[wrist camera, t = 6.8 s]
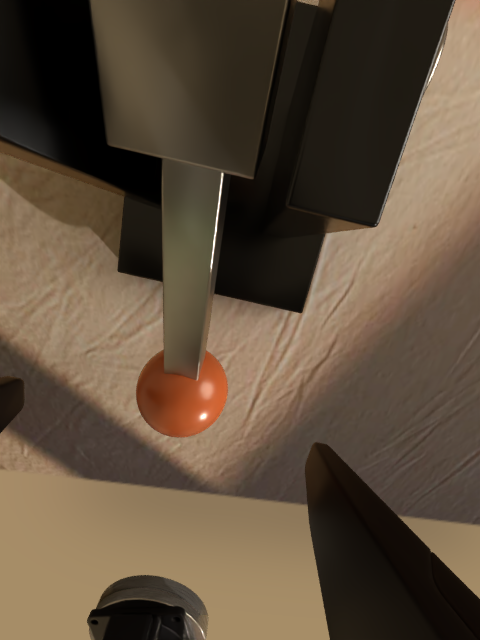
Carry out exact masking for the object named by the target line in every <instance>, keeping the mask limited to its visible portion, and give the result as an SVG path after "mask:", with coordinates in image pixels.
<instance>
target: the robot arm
mask: <svg viewBox="0 0 480 640" xmlns="http://www.w3.org/2000/svg"><path fill="white" fill-rule="evenodd" d="M23 405H24V381H23V380H22V379H21V378H16V377H12V376H4V377H0V433H1V432H2V431H3V430H4V429H5V427H6V426H7V425H8V424H9V423H10V422H11V421H12V420H13V419H14V417H15V416H16V415H17V414H18V413H19V412H20V411H21V409H22V408H23ZM305 477H306V489H307V502H308V514H309V524H310V531H311V537H312V542H313V548H314V554H315V559H316V565H317V570H318V576H319V581H320V587H321V592H322V597H323V603H324V609H325V614H326V620H327V625H328V631H329V636H330V640H480V599H479V598H478V597H477V596H476V595H475V594H474V593H473V592H472V591H471V590H470V589H469V588H468V587H467V586H466V585H465V584H464V583H463V582H462V581H461V580H460V579H459V578H458V577H457V576H456V575H455V574H454V573H453V572H452V571H451V570H450V569H449V568H448V567H447V566H446V565H445V564H444V563H443V562H442V561H441V560H440V559H439V558H438V557H437V556H436V555H435V554H434V553H433V552H431V551H430V549H429V548H428V547H427V546H426V545H425V544H424V543H423V542H422V541H421V540H420V539H419V537H418V536H417V535H416V534H415V533H414V532H413V531H412V530H411V529H409V527H408V526H407V525H406V524H405V523H404V522H403V521H402V520H401V519H400V518H399V517H398V516H397V515H396V514H395V513H394V512H393V511H392V510H391V509H390V508H389V507H388V506H387V505H386V504H385V503H384V502H383V501H382V500H381V499H380V498H379V497H378V496H377V495H376V494H375V493H374V492H373V491H372V489H371V488H370V487H369V486H368V485H367V484H366V483H365V482H364V481H363V480H362V479H361V478H360V477H359V476H358V475H357V474H356V473H355V472H354V471H353V470H352V469H351V468H350V467H349V466H348V465H347V464H346V463H345V462H344V461H343V460H342V459H341V458H340V457H339V456H338V455H337V454H336V453H335V452H334V451H333V450H332V449H331V448H330V447H329V446H328V445H327V444H322V443H318V442H315V443H314V444H313V445H312V447H311V450H310V453H309V456H308V459H307V461H306V465H305ZM87 623H88V625H89V627H90V630H91V632H92V635H93V637H94V639H95V640H193V637H192V633H191V629H190V626H189V622H188V618H187V615H186V611H185V609H184V608H182V607H180V606H167V607H139V608H111V609H94V610H92V611H91V612H90V615H89V617H88V619H87Z"/></svg>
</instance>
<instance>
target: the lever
mask: <svg viewBox="0 0 480 640" xmlns="http://www.w3.org/2000/svg"><path fill="white" fill-rule="evenodd" d="M88 5H89V13H90V21H91V29H92V36H93V44H94V52H95V60H96V68H97V75H98V83H99V91H100V99H101V107H102V114H103V122H104V130H105V138H106V143H107V144H108V145H110V146H112V147H116V148H121V149H125V150H129V151H133V152H138V153H142V154H146V155H150V156H155V157H159V158H161V175H162V251H163V327H164V350H162V351H160V352H159V353H157V354H156V355H154V356H153V357H152V358H151V359H150V360H149V361H148V363H147V364H146V365H145V366H144V368H143V370H142V371H141V374H140V376H139V379H138V383H137V388H136V399H137V404H138V408H139V411H140V413H141V415H142V417H143V418H144V420H145V421H146V422H147V423H148V424H149V425H150V426H151V427H152V428H153V429H154V430H156V431H158V432H159V433H161V434H164V435H167V436H171V437H188V436H192V435H195V434H198V433H200V432H202V431H204V430H205V429H207V428H208V427H209V426H211V425H212V424H213V423H214V422H215V421H216V420H217V418H218V417H219V415H220V414H221V412H222V410H223V408H224V406H225V403H226V399H227V393H228V384H227V378H226V374H225V372H224V370H223V367H222V366H221V364H220V363H219V361H218V360H217V359H216V358H215V357H214V356H213V355H212V354H211V353H209V352H208V351H206V346H207V339H208V332H209V325H210V318H211V311H212V304H213V297H214V290H215V283H216V276H217V269H218V262H219V255H220V248H221V241H222V234H223V227H224V220H225V213H226V206H227V199H228V192H229V185H230V178H231V175H235V176H240V177H244V178H248V179H254V178H255V177H256V175H257V172H258V169H259V166H260V163H261V160H262V157H263V154H264V151H265V148H266V144H267V139H268V134H269V130H270V125H271V120H272V115H273V110H274V106H275V101H276V96H277V91H278V86H279V82H280V77H281V72H282V67H283V63H284V58H285V53H286V48H287V43H288V39H289V34H290V29H291V24H292V19H293V15H294V10H295V5H296V0H88Z"/></svg>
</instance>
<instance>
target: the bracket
mask: <svg viewBox="0 0 480 640" xmlns="http://www.w3.org/2000/svg"><path fill="white" fill-rule="evenodd" d="M454 3H455V0H319V3H318V6H314V5H310V4H306V3H302V2H298V1H296V5H295V10H294V15H293V19H292V24H291V29H290V34H289V39H288V43H287V48H286V53H285V58H284V63H283V67H282V72H281V77H280V82H279V86H278V91H277V96H276V101H275V106H274V110H273V115H272V120H271V125H270V130H269V134H268V139H267V144H266V148H265V151H264V154H263V157H262V160H261V163H260V166H259V169H258V172H257V175H256V177H255V178H254V179H248V178H244V177H240V176H235V175H231V178H230V185H229V192H228V199H227V206H226V213H225V220H224V227H223V234H222V241H221V248H220V255H219V262H218V269H217V276H216V283H215V290H214V294H218V295H222V296H227V297H231V298H235V299H240V300H244V301H249V302H253V303H258V304H262V305H266V306H271V307H275V308H280V309H284V310H289V311H293V312H297V313H302V312H303V308H304V305H305V302H306V298H307V295H308V291H309V288H310V285H311V281H312V278H313V274H314V271H315V268H316V264H317V261H318V258H319V254H320V251H321V247H322V244H323V241H324V237H325V234H326V233H332V232H340V231H348V230H356V229H364V228H372V227H376V226H377V225H378V224H379V221H380V218H381V215H382V213H383V210H384V207H385V204H386V201H387V198H388V195H389V192H390V189H391V186H392V183H393V181H394V178H395V175H396V172H397V169H398V166H399V163H400V160H401V157H402V154H403V152H404V149H405V146H406V143H407V140H408V137H409V134H410V131H411V128H412V125H413V122H414V120H415V117H416V114H417V111H418V108H419V105H420V102H421V99H422V97H423V95H424V93H425V91H426V89H427V87H428V85H429V83H430V81H431V79H432V77H433V74H434V72H435V69H436V67H437V65H438V62H439V59H440V56H441V54H442V50H443V47H444V44H445V40H446V36H447V31H448V21H449V18H450V15H451V12H452V9H453V6H454ZM0 152H1V153H4V154H6V155H9V156H12V157H15V158H18V159H20V160H23V161H26V162H29V163H32V164H34V165H37V166H40V167H43V168H45V169H48V170H51V171H54V172H57V173H59V174H62V175H65V176H68V177H71V178H73V179H76V180H79V181H82V182H85V183H87V184H90V185H93V186H96V187H98V188H101V189H104V190H107V191H110V192H112V193H115V194H118V195H121V196H124V208H123V218H122V229H121V240H120V250H119V261H118V272H120V273H125V274H129V275H134V276H138V277H143V278H147V279H151V280H156V281H160V282H163V251H162V175H161V158H159V157H155V156H150V155H146V154H142V153H138V152H133V151H129V150H125V149H121V148H116V147H112V146H110V145H108V144H107V143H106V138H105V130H104V122H103V114H102V107H101V99H100V91H99V83H98V75H97V68H96V60H95V52H94V44H93V36H92V29H91V21H90V13H89V5H88V0H0Z"/></svg>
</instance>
